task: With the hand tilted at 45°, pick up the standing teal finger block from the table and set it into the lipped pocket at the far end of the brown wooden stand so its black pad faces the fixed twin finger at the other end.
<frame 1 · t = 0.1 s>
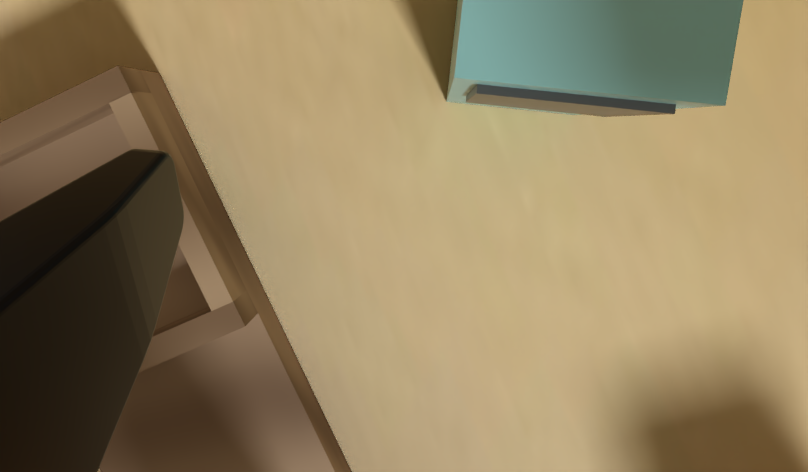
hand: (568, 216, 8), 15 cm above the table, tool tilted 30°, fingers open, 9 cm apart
brown wooden stand: (214, 419, 25), on the table
finger block: (517, 50, 22), on the table
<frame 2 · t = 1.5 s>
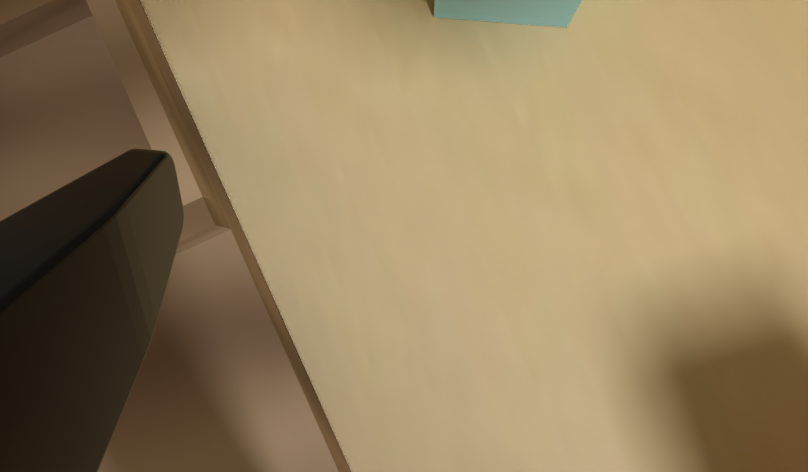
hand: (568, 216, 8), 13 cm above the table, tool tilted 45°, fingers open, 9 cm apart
brown wooden stand: (176, 373, 21), on the table
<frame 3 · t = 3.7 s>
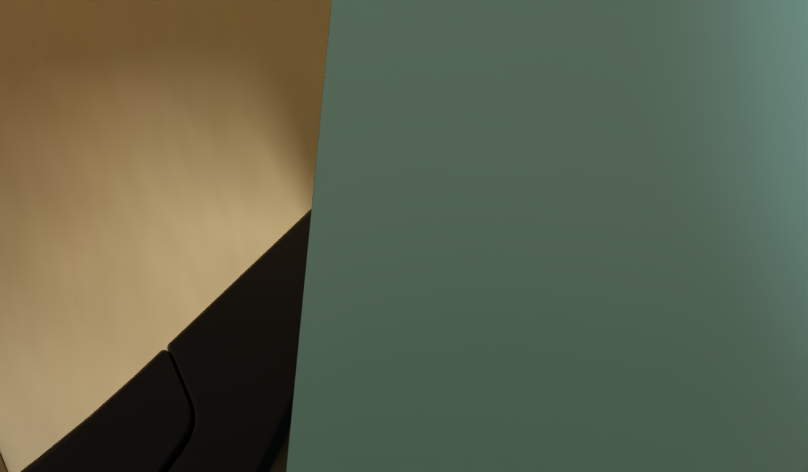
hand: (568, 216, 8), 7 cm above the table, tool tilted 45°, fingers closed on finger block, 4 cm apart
finger block: (499, 292, 15), on the table, touching gripper
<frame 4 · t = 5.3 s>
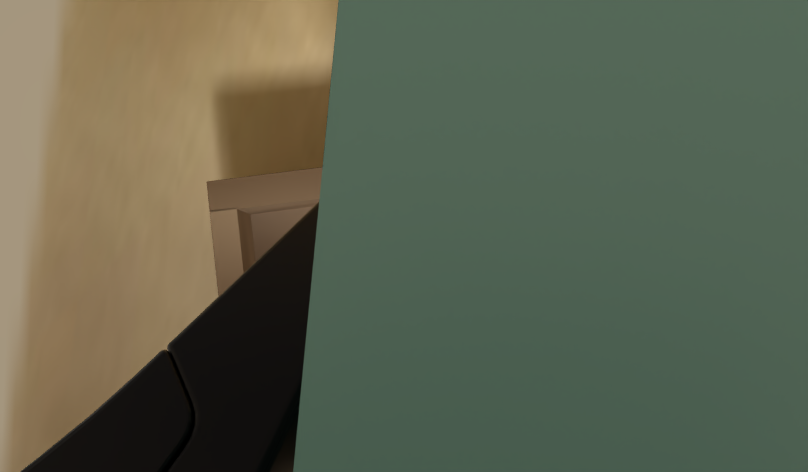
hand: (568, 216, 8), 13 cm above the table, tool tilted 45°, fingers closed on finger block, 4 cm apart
finger block: (500, 290, 15), point 7 cm above the table, touching gripper
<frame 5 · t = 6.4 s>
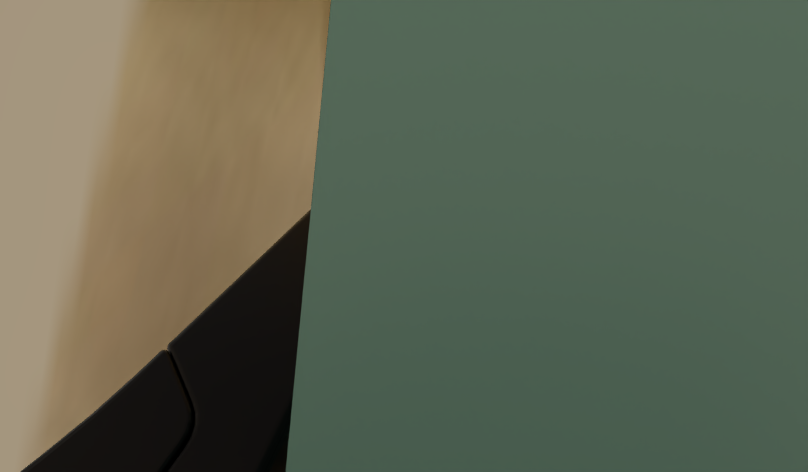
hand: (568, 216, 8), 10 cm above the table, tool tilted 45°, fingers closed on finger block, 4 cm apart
finger block: (499, 290, 15), point 3 cm above the table, touching gripper
when the fingers open (9 cm above the table, at t = 7.0 s): finger block stays where it is, resting on brown wooden stand.
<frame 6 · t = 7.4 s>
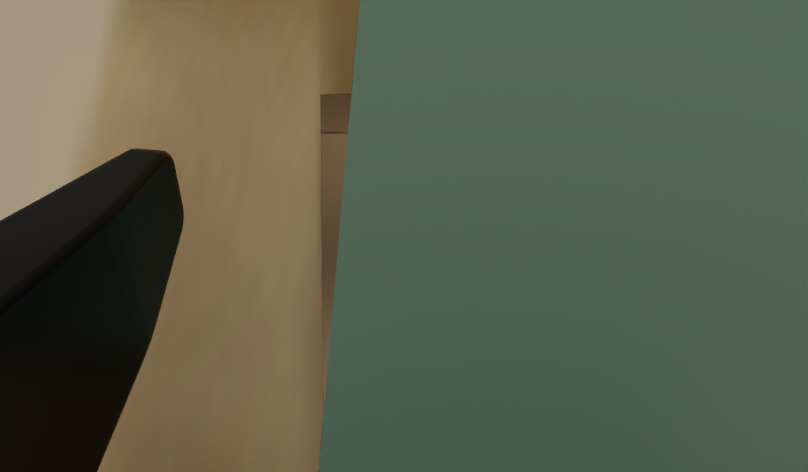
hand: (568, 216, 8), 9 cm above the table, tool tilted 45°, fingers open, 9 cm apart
finger block: (494, 292, 16), point 1 cm above the table, touching brown wooden stand
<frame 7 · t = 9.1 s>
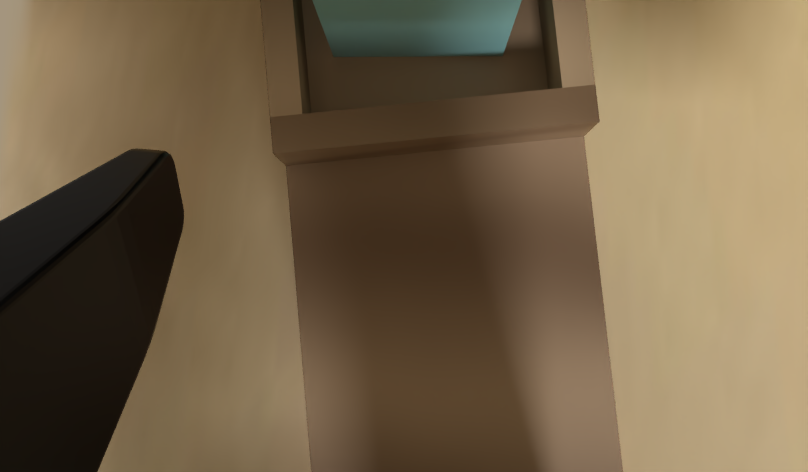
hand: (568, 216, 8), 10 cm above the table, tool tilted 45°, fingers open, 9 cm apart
brown wooden stand: (444, 278, 18), on the table
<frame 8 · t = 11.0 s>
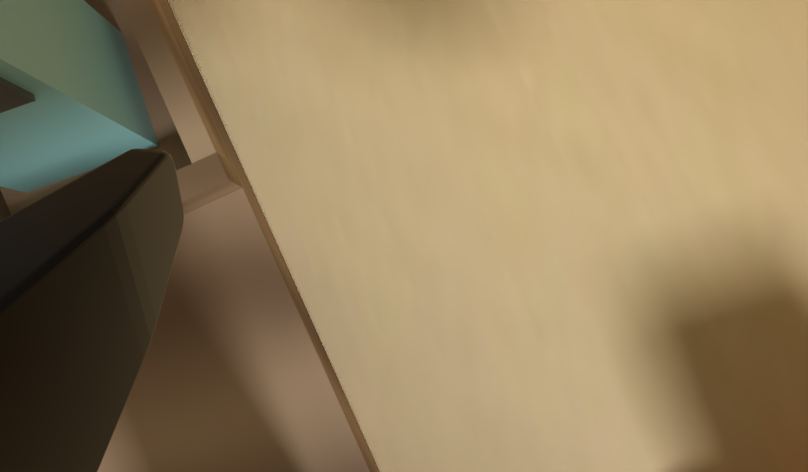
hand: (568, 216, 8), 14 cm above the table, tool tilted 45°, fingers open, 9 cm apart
brown wooden stand: (188, 332, 22), on the table
finger block: (74, 112, 21), point 1 cm above the table, touching brown wooden stand
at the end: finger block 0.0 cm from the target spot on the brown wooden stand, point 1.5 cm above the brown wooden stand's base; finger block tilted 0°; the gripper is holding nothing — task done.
